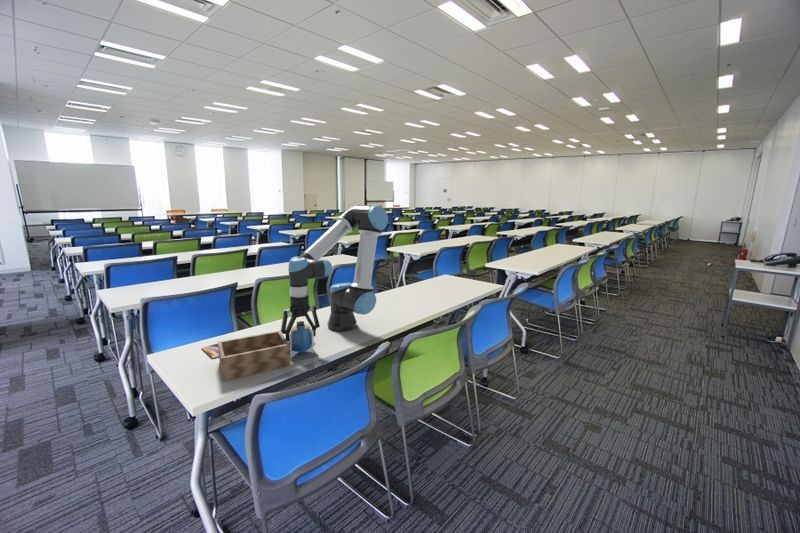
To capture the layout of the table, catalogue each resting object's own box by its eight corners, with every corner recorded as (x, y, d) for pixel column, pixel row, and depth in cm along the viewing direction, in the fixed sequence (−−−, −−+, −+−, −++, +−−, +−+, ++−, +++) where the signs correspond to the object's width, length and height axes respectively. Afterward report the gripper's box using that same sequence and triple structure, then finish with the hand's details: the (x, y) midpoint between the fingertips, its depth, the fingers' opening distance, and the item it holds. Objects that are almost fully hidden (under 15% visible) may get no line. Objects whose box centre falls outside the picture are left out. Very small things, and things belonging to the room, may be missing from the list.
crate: (281, 349, 153) (279, 330, 151) (290, 365, 138) (289, 344, 136) (219, 362, 140) (217, 341, 138) (223, 381, 126) (221, 358, 124)
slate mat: (310, 346, 156) (310, 345, 156) (318, 356, 147) (318, 354, 147) (285, 352, 150) (285, 350, 150) (292, 362, 141) (292, 360, 141)
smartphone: (211, 358, 143) (200, 348, 153) (211, 360, 143) (200, 349, 153) (230, 353, 148) (218, 342, 158) (230, 354, 148) (218, 344, 158)
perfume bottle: (311, 346, 150) (310, 320, 148) (303, 352, 144) (302, 325, 142) (299, 345, 152) (298, 319, 150) (291, 350, 146) (289, 324, 144)
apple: (286, 340, 163) (286, 324, 161) (304, 334, 170) (304, 319, 168) (297, 346, 156) (297, 329, 155) (316, 340, 163) (315, 324, 162)
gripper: (321, 290, 152) (322, 337, 156) (270, 296, 141) (273, 347, 145) (326, 294, 146) (328, 343, 150) (274, 300, 135) (277, 354, 139)
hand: (301, 345), depth 148 cm, fingers closed on perfume bottle, 9 cm apart
